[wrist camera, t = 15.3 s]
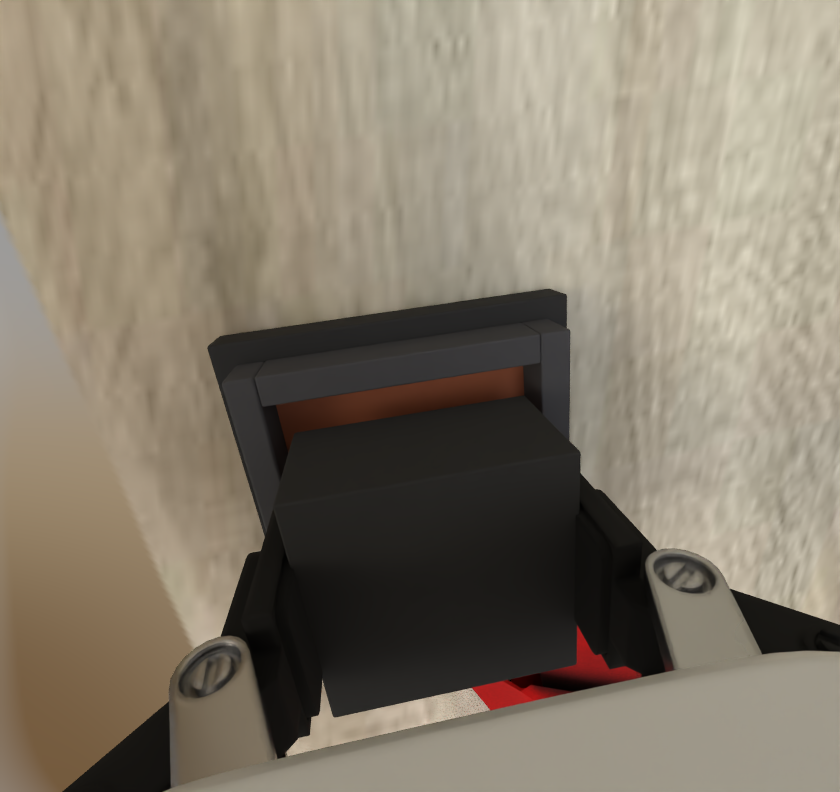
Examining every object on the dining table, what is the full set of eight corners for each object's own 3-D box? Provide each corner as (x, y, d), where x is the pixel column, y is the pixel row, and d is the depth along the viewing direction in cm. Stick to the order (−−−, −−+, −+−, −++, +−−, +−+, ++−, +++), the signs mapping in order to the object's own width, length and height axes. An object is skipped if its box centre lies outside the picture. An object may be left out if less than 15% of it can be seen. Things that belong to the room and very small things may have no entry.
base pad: (295, 596, 17) (284, 662, 14) (218, 335, 13) (185, 362, 10) (552, 546, 17) (585, 600, 15) (550, 288, 14) (593, 302, 11)
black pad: (337, 610, 13) (332, 718, 10) (293, 431, 11) (271, 506, 8) (530, 572, 14) (577, 665, 11) (524, 394, 12) (582, 451, 9)
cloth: (757, 824, 28) (790, 873, 26) (548, 897, 27) (563, 953, 25) (763, 486, 18) (817, 521, 16) (435, 595, 18) (446, 646, 15)
